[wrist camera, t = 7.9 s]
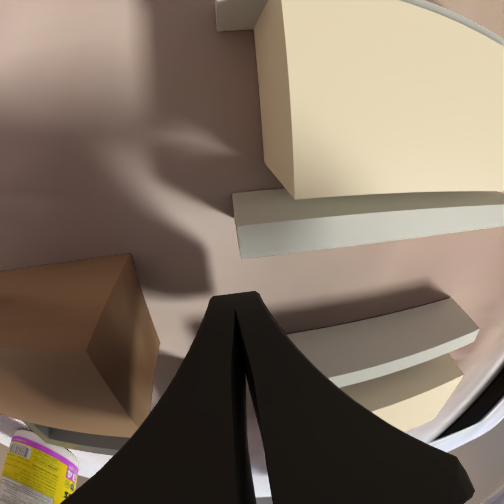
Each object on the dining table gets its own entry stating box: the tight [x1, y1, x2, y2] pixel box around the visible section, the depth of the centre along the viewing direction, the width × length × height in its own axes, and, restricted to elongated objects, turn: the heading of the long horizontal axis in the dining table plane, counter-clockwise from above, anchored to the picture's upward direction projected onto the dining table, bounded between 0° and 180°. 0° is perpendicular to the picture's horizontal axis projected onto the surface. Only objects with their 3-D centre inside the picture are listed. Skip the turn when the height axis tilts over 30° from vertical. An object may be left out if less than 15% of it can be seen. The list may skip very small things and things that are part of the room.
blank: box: [0, 253, 160, 438], centre depth 8 cm, size 4×8×4 cm, turn 95°
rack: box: [215, 0, 504, 457], centre depth 9 cm, size 18×10×4 cm, turn 4°
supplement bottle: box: [0, 430, 79, 504], centre depth 10 cm, size 7×7×13 cm
